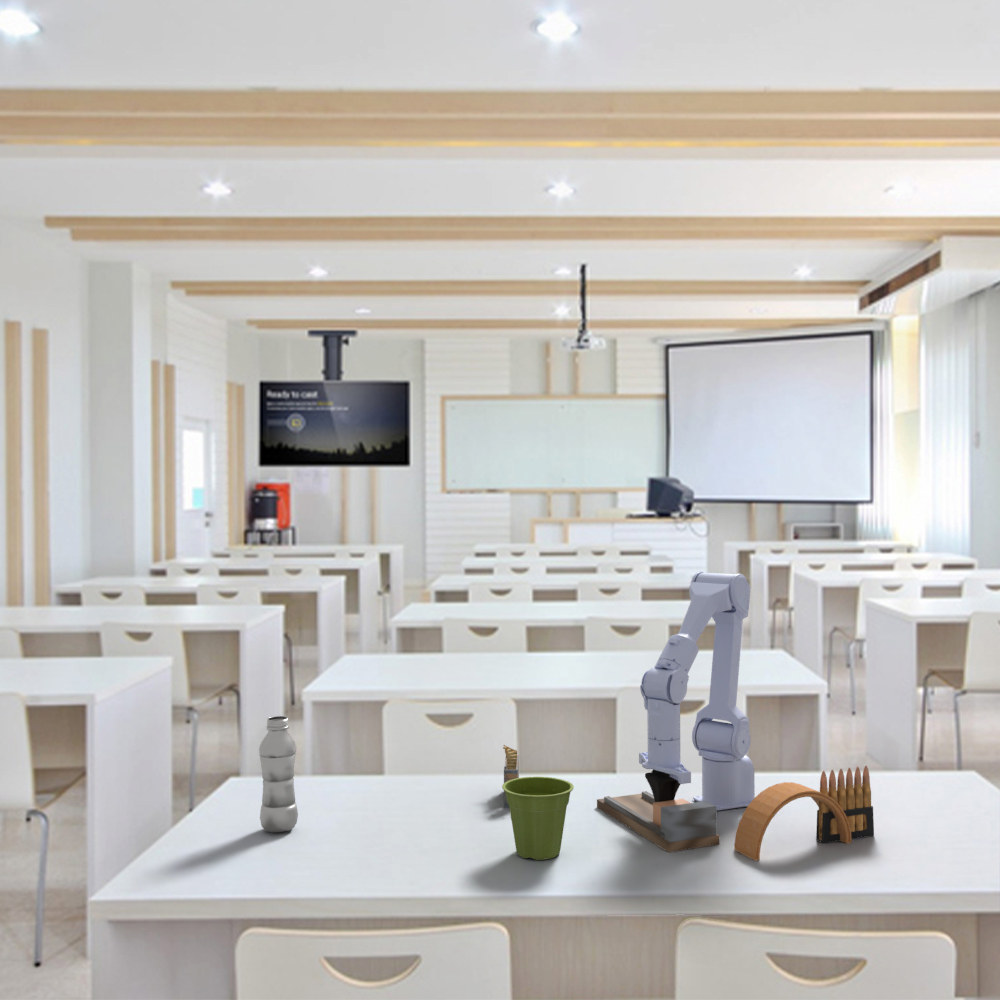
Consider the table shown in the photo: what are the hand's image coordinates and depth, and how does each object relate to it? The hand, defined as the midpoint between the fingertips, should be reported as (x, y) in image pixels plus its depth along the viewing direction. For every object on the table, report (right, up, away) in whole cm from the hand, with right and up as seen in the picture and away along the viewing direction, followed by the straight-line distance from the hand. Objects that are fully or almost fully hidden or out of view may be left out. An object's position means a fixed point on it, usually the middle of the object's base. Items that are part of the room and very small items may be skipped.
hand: (664, 814), depth 181 cm
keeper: (+1, -1, -3) cm, 4 cm away
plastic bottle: (-68, -4, +1) cm, 68 cm away
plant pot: (-23, -3, -11) cm, 25 cm away
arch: (+20, -3, -8) cm, 22 cm away
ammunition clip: (+30, -3, -5) cm, 31 cm away
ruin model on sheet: (-27, -4, +19) cm, 33 cm away
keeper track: (-1, -3, +3) cm, 4 cm away
